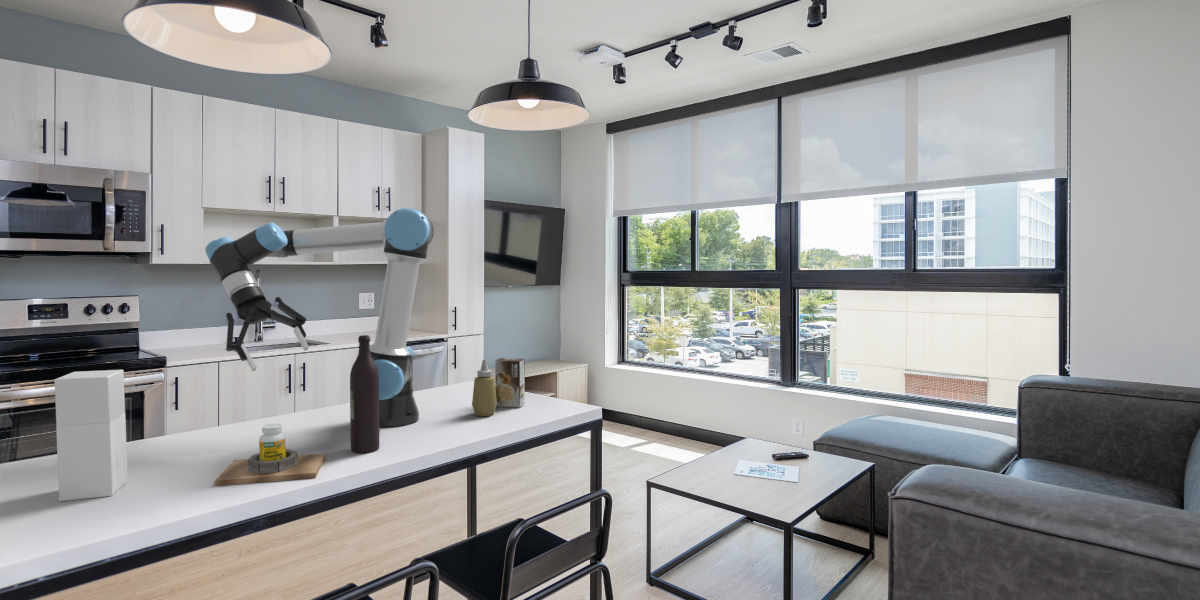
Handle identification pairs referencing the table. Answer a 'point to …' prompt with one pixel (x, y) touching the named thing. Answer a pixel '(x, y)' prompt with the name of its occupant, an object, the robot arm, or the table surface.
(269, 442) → the supplement bottle
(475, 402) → the squeeze bottle
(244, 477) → the board
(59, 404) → the tall white carton
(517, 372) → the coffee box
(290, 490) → the table surface
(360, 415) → the wine bottle
